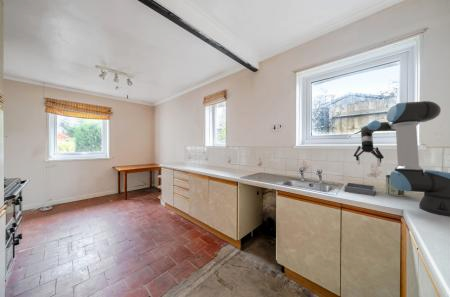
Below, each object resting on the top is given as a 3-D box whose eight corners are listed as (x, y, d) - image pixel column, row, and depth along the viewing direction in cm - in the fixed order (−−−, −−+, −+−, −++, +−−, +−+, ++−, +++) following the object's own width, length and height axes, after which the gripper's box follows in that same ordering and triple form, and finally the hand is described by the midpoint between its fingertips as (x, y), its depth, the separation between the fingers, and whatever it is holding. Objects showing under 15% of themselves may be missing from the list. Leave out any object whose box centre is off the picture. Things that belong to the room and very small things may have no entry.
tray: (374, 190, 137) (374, 185, 137) (373, 195, 124) (373, 190, 124) (347, 186, 150) (347, 182, 150) (344, 191, 137) (344, 186, 136)
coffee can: (401, 193, 129) (401, 175, 129) (407, 197, 120) (407, 177, 120) (383, 191, 134) (383, 174, 134) (388, 195, 125) (388, 176, 125)
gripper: (382, 145, 144) (385, 168, 138) (348, 142, 153) (349, 164, 146) (387, 141, 138) (390, 165, 131) (351, 139, 146) (352, 162, 139)
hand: (368, 165), depth 138 cm, fingers open, 13 cm apart
